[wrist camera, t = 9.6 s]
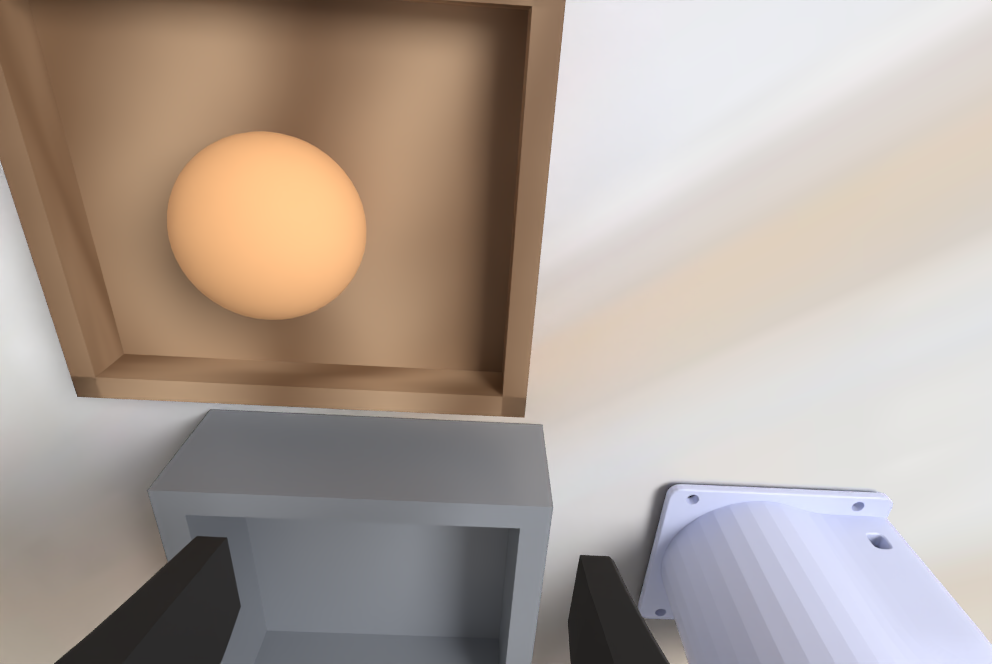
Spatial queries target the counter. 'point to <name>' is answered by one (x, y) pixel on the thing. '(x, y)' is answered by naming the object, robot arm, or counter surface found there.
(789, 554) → the robot arm
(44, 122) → the tray
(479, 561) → the bin
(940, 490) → the counter surface
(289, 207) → the ball
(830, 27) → the counter surface
